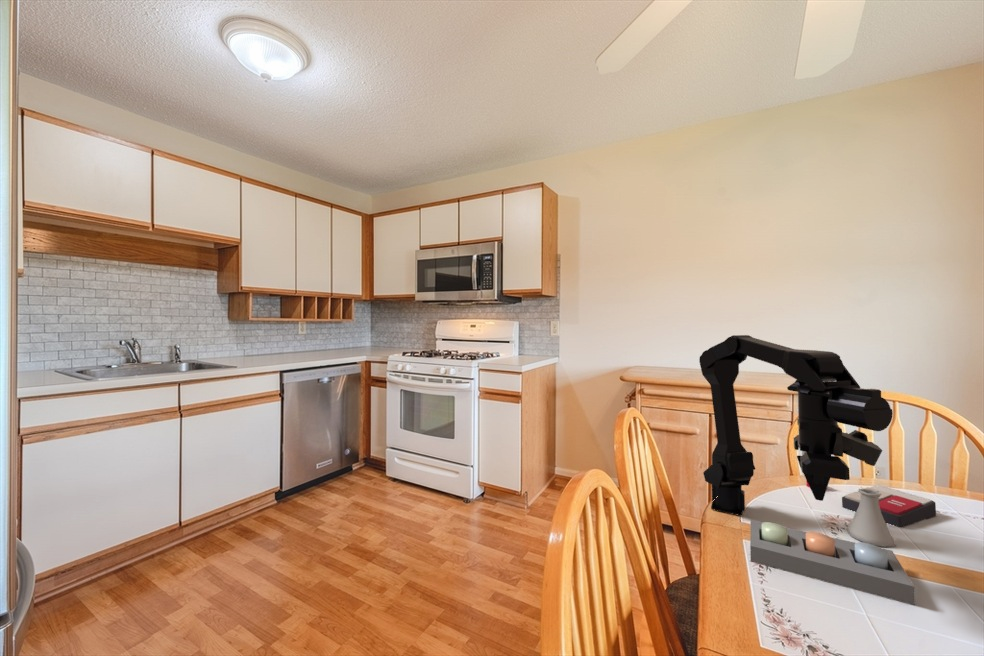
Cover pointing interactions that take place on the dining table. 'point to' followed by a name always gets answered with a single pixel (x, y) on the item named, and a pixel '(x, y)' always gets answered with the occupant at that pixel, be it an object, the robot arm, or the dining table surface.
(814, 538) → the button terracotta
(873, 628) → the dining table surface
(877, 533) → the flask
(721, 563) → the dining table surface
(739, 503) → the robot arm
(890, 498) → the black product box
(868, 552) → the button blue
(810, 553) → the button panel
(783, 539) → the button sage
